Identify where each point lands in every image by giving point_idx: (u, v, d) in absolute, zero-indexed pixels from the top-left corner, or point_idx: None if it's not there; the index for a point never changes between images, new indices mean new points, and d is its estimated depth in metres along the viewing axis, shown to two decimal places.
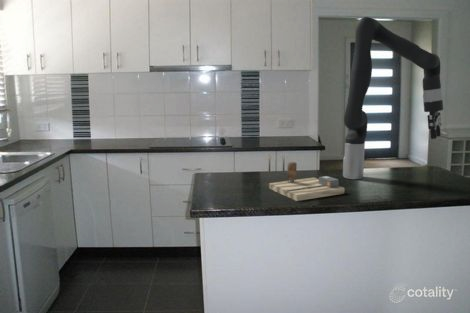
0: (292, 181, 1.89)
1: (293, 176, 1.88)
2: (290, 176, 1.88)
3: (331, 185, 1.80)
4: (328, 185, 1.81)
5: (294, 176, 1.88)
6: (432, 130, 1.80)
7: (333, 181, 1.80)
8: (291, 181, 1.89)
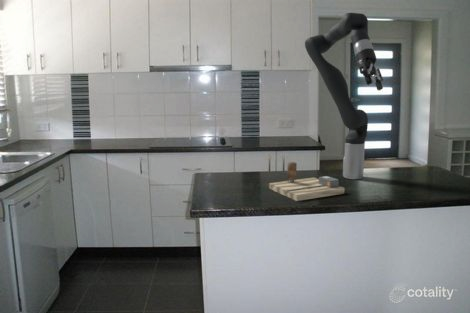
0: (292, 181, 1.89)
1: (293, 176, 1.88)
2: (290, 176, 1.88)
3: (331, 185, 1.80)
4: (328, 185, 1.81)
5: (294, 176, 1.88)
6: (365, 75, 1.68)
7: (333, 181, 1.80)
8: (291, 181, 1.89)
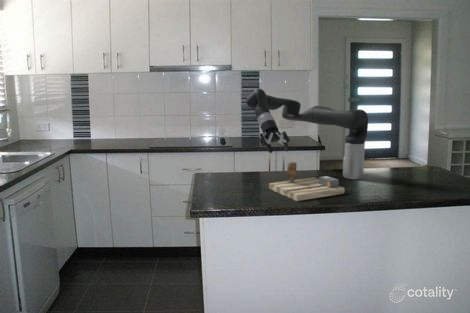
0: (292, 181, 1.89)
1: (293, 176, 1.88)
2: (290, 176, 1.88)
3: (331, 185, 1.80)
4: (328, 185, 1.81)
5: (294, 176, 1.88)
6: (266, 146, 1.96)
7: (333, 181, 1.80)
8: (291, 181, 1.89)
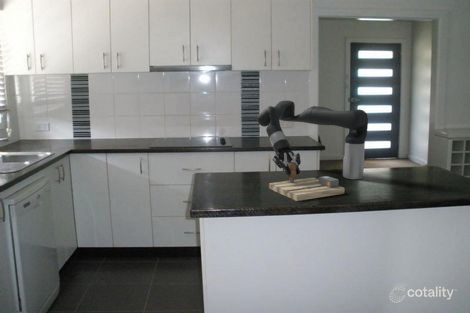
0: (292, 181, 1.89)
1: (293, 176, 1.88)
2: (290, 176, 1.88)
3: (331, 185, 1.80)
4: (328, 185, 1.81)
5: (294, 176, 1.88)
6: (284, 168, 1.88)
7: (333, 181, 1.80)
8: (291, 181, 1.89)
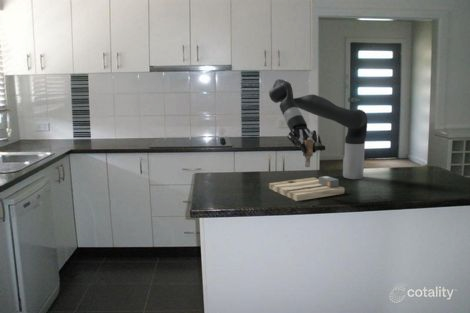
0: (308, 160, 1.77)
1: (309, 154, 1.75)
2: (306, 154, 1.75)
3: (331, 185, 1.80)
4: (328, 185, 1.81)
5: (310, 154, 1.76)
6: (300, 145, 1.76)
7: (333, 181, 1.80)
8: (307, 160, 1.77)
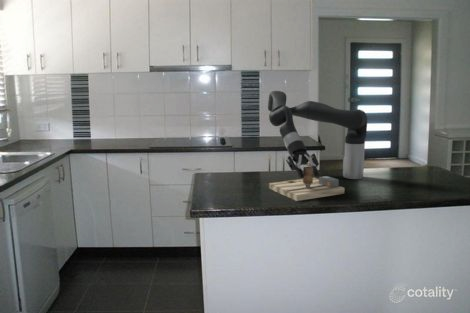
0: (308, 187, 1.79)
1: (309, 182, 1.77)
2: (306, 182, 1.78)
3: (331, 185, 1.80)
4: (328, 185, 1.81)
5: (310, 182, 1.78)
6: (297, 170, 1.77)
7: (333, 181, 1.80)
8: (307, 187, 1.79)
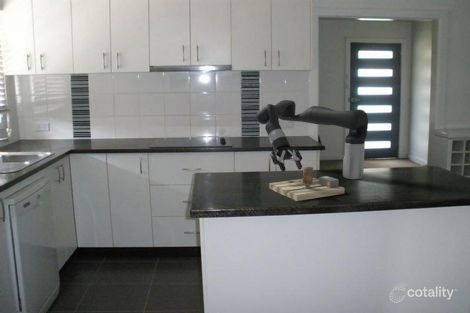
0: (308, 187, 1.79)
1: (309, 182, 1.77)
2: (306, 182, 1.78)
3: (331, 185, 1.80)
4: (328, 185, 1.81)
5: (310, 182, 1.78)
6: (278, 164, 1.89)
7: (333, 181, 1.80)
8: (307, 187, 1.79)
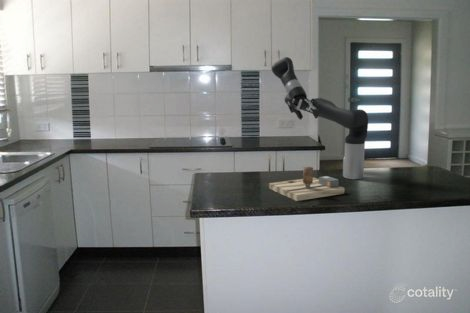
0: (308, 187, 1.79)
1: (309, 182, 1.77)
2: (306, 182, 1.78)
3: (331, 185, 1.80)
4: (328, 185, 1.81)
5: (310, 182, 1.78)
6: (296, 112, 1.91)
7: (333, 181, 1.80)
8: (307, 187, 1.79)
